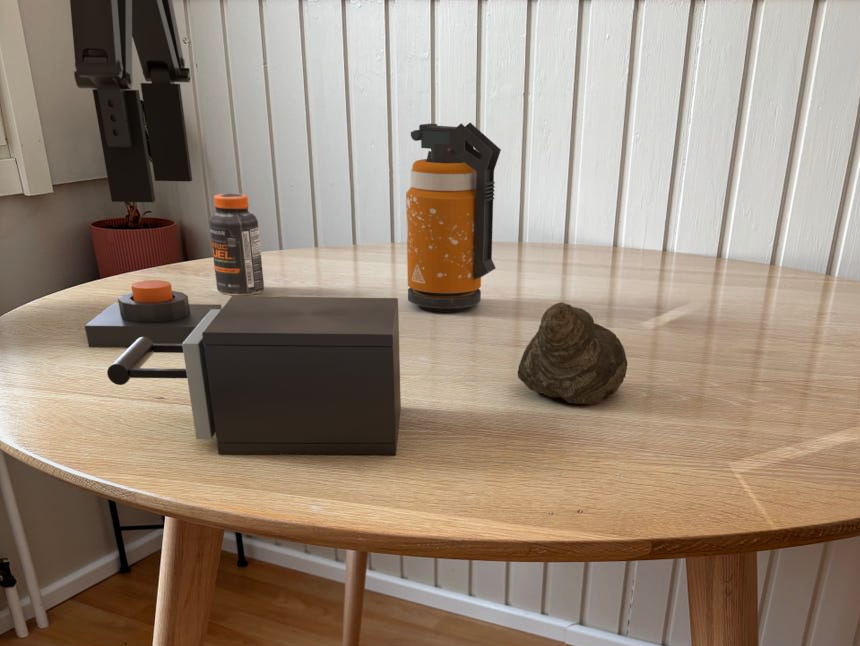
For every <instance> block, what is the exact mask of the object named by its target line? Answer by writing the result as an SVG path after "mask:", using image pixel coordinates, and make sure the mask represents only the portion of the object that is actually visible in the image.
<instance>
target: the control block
mask: <svg viewBox="0 0 860 646" xmlns="http://www.w3.org/2000/svg"><path fill="white" fill-rule="evenodd" d="M172 295H173V299H171V300H168V301H161V302H137V301H134V299H133V293H132V292H129V293H125V294H122V295H121V296H119V297H118V298H117V302H116V303H115V302H113V303H111V304H110V305H108V307H106V308H105V309H104V310H102V311H101V312H100V313H99V314H97V315H96V316H95V317H94V318H92V319H91V320H90V321H89V322H87V323H86V324H85V325H84V331H85V335H86V340H87V344H88V348H123V349H124V348H126V349H128V348H129V347H130V346H131V345H132V344H133V343H134V342H135V341H136V340H137V339H138V338H140V337H147V338H149V339H150V340H152V342H153V343H154V344H182V343H183V342H184V341H185V340H186V339H187V337H188V336H189V335H190V334H191V333H192V332H193V330H194V329H195V328H196V327H197V326H198V324H199V323H200V322H201V321H202V320H203V319H204V317H205V316H206V315H207V314H208V313H209V312H210V310H211V309H222V308H223V306H222V304H213V303H212V304H210V303H209V304H205V303H204V304H203V303H201V304H200V303H190V302H189V296H188V295H187V294H185V293H184V292H182V291H176V290H172Z"/></svg>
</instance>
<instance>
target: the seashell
mask: <svg viewBox="0 0 860 646" xmlns="http://www.w3.org/2000/svg"><path fill="white" fill-rule="evenodd" d="M517 369H518V370H517V378H518V379H519V380H520V381H521V382H522V383H524V385H525V386H526V387H527V388H528V389H529V390H530V391H533V392H536V393H540V394H543V395H545V396H548V397H550V398H552V399H553V398H562V399H563V400H565V402H567V404H568V403H569V404H577V405H578V404H579V405H580V404H584V405H588V406H589V405H590V406H591V405H597V404H598V403H599V402H601V401H603V400H604V398H605V397H606V396H612V395H614V394H615V393H617V391H618V390H619V388H620V387H621V385H622V384H623V383H624V380H625V378H626V375H627V370H628V359H627V355H626V349H625V348H624V345H623V344H622V342H621V340H620V339H619V338H618V337H617V335H616V334H615V333H614V332H613V331H612V330H610V329H608V328H606V327H604V326H602V325H600V324H598V323H596V322H595V321H594V317H593V316H592V315H591V314H590V313H589V311H586V309H585V310H584V309H583V308H581V307H575V306H572V305H571V304H569V303H565V302H557V303H555V304H553V305H551V306H550V307H548V308H547V309H546V311H544V313H543V314H542V317H541V319H540V324H539V326H538V330H537V332H536V333H535V335H534V336H533V337H532V338H531V339H530V341H529V343H528V344H527V346H526V347H525V349H524V351H523V353H522V355H521V358H520V362H519V363H518V368H517Z"/></svg>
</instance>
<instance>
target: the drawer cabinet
mask: <svg viewBox="0 0 860 646" xmlns="http://www.w3.org/2000/svg"><path fill="white" fill-rule="evenodd" d="M399 323H400V319H399V298H398V297H346V296H345V297H342V296H341V297H338V296H336V297H335V296H331V297H330V296H269V295H267V296H266V295H265V296H264V295H263V296H262V295H261V296H260V295H259V296H258V295H257V296H255V295H244V296H235V295H231V297H230V298H229V299H228V300H227V301H226V303H225V304H224V305H223V306H222V309H221V310H220V311H219V313H218V314H217V315H216V316H215V317H214V319H213V320H212V321H211V322H210V324H209V325H208V326H207V327H206V329H205V330H204V331H203V332H202V337H203V344H204V351H205V358H206V365H207V373H208V380H209V388H210V395H211V402H212V410H213V417H214V425H215V439H216V447H217V454H218V455H300V456H301V455H304V456H305V455H306V456H307V455H308V456H309V455H310V456H311V455H316V456H319V455H321V456H324V455H325V456H327V455H328V456H336V455H339V456H345V455H346V456H397V448H398V437H399V428H400V418H401V417H400V416H401V407H402V403H401V401H402V400H401V397H402V396H401V365H400V364H401V362H400V361H401V360H400V324H399Z"/></svg>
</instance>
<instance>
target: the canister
mask: <svg viewBox="0 0 860 646" xmlns="http://www.w3.org/2000/svg"><path fill="white" fill-rule="evenodd" d="M410 137H411V139H412V140H413V141H415V142H418V141H420V147H421V149H428V152H427V157H426V158H423V159H418V160H415V161H414V162H413V163H412V165H411V166H412V167H411V169H410V188H409V189H408V190H407V191H406V192H405V207H406V208H405V209H406V213H405V214H406V260H407V261H406V262H407V267H406V268H407V287H408V289H407V301H408V302H409V303H411V304H414V305H417V306H418V307H419V308H421V309H423V310H426V311H432V312H442V313H443V312H444V313H445V312H446V313H448V312H449V313H450V312H451V313H452V312H459V311H465V310H467V309H470V307H472V306H476V305H478V304H480V303H481V300H482V298H481V297H482V294H481V293H482V291H481V289H480V288H481V286H482V278H483V277H484V276H486V275H488V274H489V273H491V272H492V271H494V270H496V265H495V264H494V261H493V259H492V258H493V255H492V254H493V225H494V224H493V223H494V218H493V217H494V200H495V197H494V196H495V189H494V188H495V183H496V182H495V169H496V166H497V163H498V160H499V157H500V154H501V151H502V148H500V147H499V146H497V144H496V143H494V142H493V141H492V139H490V138H488V137H487V135H486V134H484V133H483V132H482V131H481V130H479V128H477V126H475V125H474V123H472V122H468V123H467V124H466V125H464V124H463V123H460V124H458V125H457V126H449V125H438V124H437V123H422V124H419V126H418V129H414V130H412V131H410Z"/></svg>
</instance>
